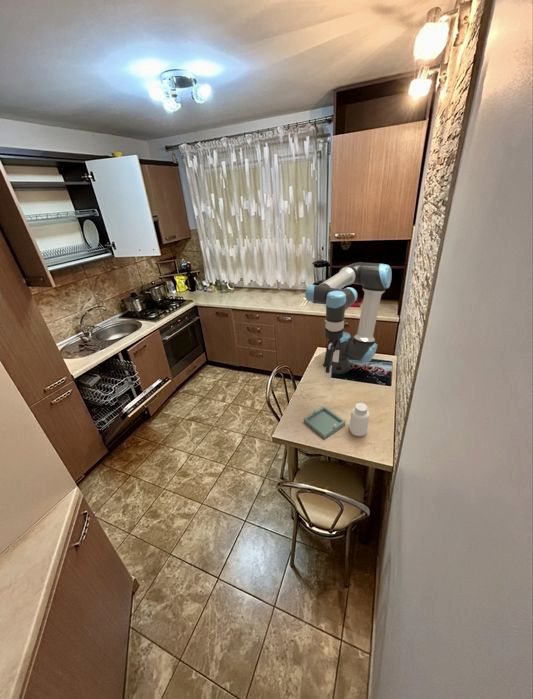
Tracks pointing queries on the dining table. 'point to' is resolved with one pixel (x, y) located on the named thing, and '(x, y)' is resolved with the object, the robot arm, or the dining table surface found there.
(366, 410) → the pill bottle
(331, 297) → the robot arm
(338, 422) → the tray
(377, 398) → the dining table surface
